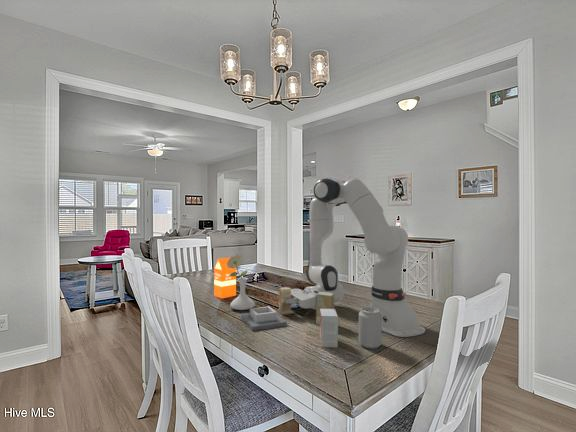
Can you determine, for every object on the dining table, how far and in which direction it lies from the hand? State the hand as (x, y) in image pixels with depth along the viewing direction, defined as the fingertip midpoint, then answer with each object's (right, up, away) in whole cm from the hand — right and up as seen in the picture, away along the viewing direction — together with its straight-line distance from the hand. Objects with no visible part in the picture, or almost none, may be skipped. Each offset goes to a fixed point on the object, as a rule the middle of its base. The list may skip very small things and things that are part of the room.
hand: (282, 299), depth 137 cm
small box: (+16, -7, -30) cm, 35 cm away
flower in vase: (-19, -6, +7) cm, 22 cm away
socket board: (-8, -6, -10) cm, 14 cm away
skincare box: (+17, -7, -12) cm, 22 cm away
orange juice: (-31, -6, +29) cm, 43 cm away
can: (+30, -7, -32) cm, 44 cm away
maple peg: (+1, -6, 0) cm, 6 cm away
